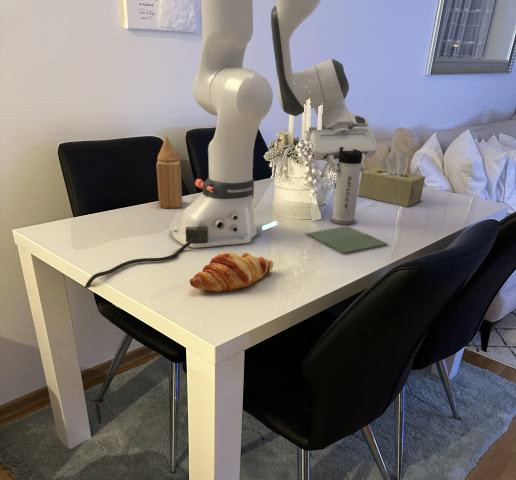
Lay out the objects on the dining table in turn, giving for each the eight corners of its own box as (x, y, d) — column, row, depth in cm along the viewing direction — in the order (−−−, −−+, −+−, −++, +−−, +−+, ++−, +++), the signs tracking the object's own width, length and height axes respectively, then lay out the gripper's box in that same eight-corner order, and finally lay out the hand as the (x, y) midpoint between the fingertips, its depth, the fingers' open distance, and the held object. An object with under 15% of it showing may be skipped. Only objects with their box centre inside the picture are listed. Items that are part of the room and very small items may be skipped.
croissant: (263, 280, 117) (254, 246, 116) (290, 274, 109) (281, 238, 108) (185, 303, 105) (174, 265, 104) (209, 297, 97) (198, 257, 96)
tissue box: (357, 195, 171) (363, 146, 163) (370, 190, 177) (377, 143, 169) (408, 207, 161) (418, 155, 153) (421, 201, 167) (431, 151, 159)
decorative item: (160, 202, 157) (156, 133, 147) (182, 202, 158) (179, 133, 147) (159, 208, 152) (154, 137, 141) (181, 208, 152) (178, 137, 142)
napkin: (344, 254, 124) (344, 251, 124) (306, 234, 136) (307, 232, 135) (386, 245, 130) (387, 243, 130) (347, 227, 142) (348, 225, 141)
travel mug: (338, 216, 150) (346, 145, 140) (357, 221, 147) (367, 148, 136) (326, 221, 146) (334, 148, 135) (346, 226, 143) (355, 152, 132)
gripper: (307, 120, 135) (320, 165, 132) (372, 118, 141) (386, 162, 139) (298, 135, 140) (311, 179, 138) (361, 133, 147) (375, 175, 145)
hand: (349, 170), depth 138 cm, fingers closed on travel mug, 6 cm apart
